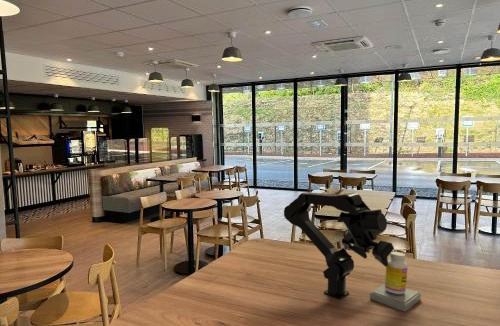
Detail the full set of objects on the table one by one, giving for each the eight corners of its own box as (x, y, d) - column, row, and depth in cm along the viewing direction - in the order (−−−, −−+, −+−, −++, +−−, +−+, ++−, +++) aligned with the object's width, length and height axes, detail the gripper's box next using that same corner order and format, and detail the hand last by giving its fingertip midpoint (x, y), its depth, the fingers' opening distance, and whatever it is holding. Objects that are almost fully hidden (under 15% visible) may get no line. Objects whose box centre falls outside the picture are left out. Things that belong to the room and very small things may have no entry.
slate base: (404, 311, 114) (405, 304, 114) (369, 298, 123) (370, 291, 122) (420, 299, 122) (420, 292, 122) (386, 288, 131) (386, 281, 131)
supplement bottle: (402, 296, 117) (405, 257, 117) (381, 290, 121) (384, 253, 121) (407, 291, 123) (410, 253, 122) (387, 285, 127) (390, 249, 126)
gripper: (394, 218, 115) (412, 253, 120) (352, 208, 132) (369, 239, 137) (373, 242, 111) (392, 276, 116) (332, 228, 128) (351, 259, 133)
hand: (376, 261), depth 126 cm, fingers open, 9 cm apart
